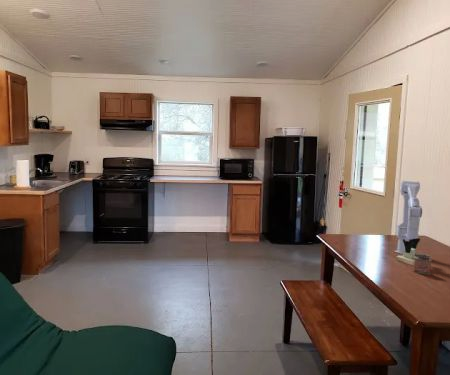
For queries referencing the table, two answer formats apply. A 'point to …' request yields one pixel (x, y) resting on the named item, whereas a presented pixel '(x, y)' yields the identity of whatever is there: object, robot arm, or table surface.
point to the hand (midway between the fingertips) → (410, 251)
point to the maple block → (405, 260)
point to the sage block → (411, 254)
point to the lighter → (422, 264)
